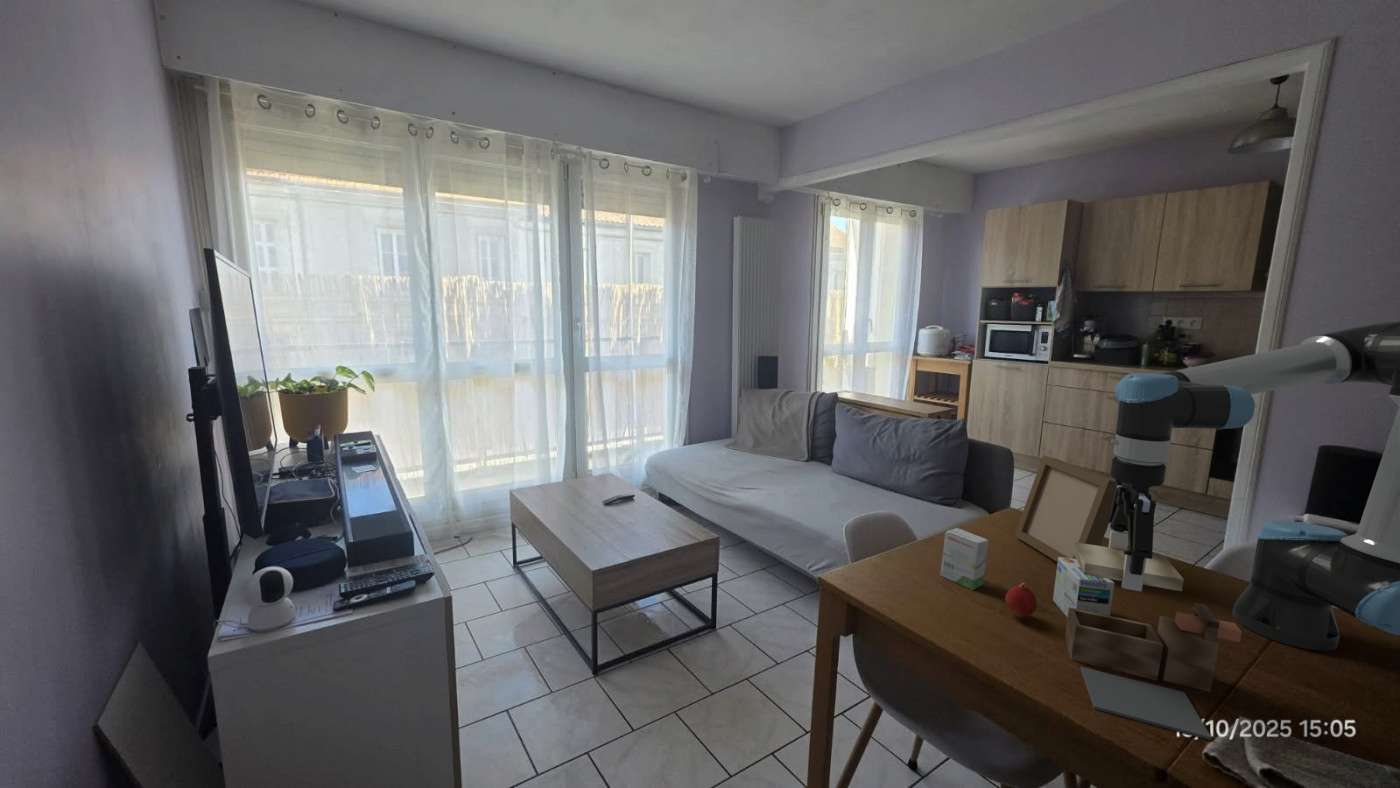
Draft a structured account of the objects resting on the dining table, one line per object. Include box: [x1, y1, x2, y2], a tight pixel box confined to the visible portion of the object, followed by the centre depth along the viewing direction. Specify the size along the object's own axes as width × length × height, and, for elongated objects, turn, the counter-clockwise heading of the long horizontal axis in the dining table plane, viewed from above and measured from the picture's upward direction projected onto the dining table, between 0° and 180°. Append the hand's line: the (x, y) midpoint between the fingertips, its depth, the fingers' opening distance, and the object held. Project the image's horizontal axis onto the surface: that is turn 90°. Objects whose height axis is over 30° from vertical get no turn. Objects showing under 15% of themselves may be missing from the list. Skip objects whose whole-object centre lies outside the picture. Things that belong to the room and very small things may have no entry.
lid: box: [1073, 542, 1185, 592], centre depth 99 cm, size 14×10×2 cm
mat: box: [1080, 666, 1213, 741], centre depth 91 cm, size 15×11×1 cm
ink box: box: [939, 527, 990, 591], centre depth 130 cm, size 9×5×12 cm, turn 34°
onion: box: [1004, 582, 1038, 619], centre depth 115 cm, size 6×6×8 cm
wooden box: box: [1064, 602, 1221, 692], centre depth 100 cm, size 20×7×13 cm, turn 65°
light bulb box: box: [1052, 557, 1115, 618], centre depth 116 cm, size 11×7×11 cm, turn 168°
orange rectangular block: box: [1174, 611, 1243, 643], centre depth 95 cm, size 8×3×2 cm, turn 65°
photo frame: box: [1014, 455, 1116, 563], centre depth 143 cm, size 15×22×25 cm
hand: (1123, 575), depth 99 cm, fingers closed on lid, 10 cm apart
